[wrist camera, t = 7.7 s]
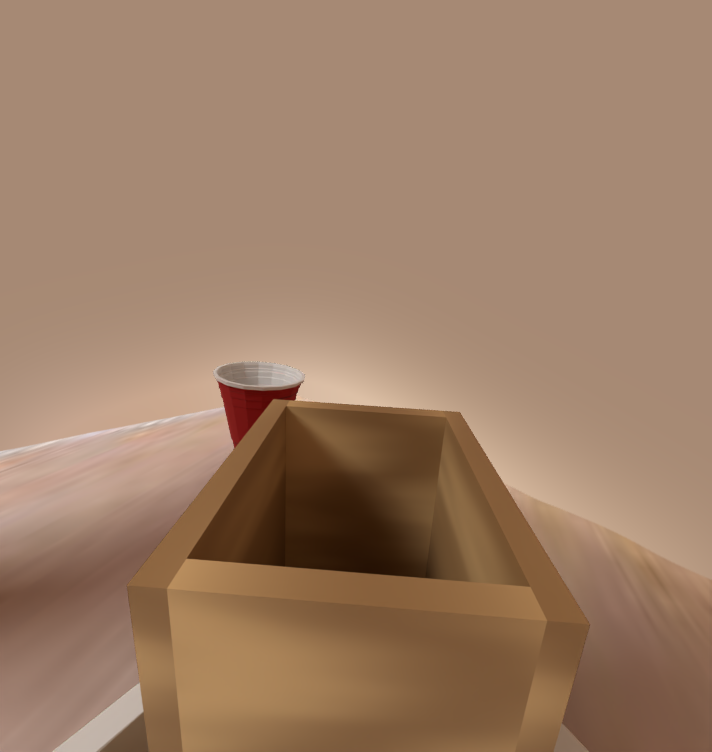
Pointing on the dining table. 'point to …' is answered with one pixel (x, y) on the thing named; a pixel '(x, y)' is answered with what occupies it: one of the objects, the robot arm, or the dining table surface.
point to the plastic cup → (254, 391)
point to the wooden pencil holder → (354, 597)
